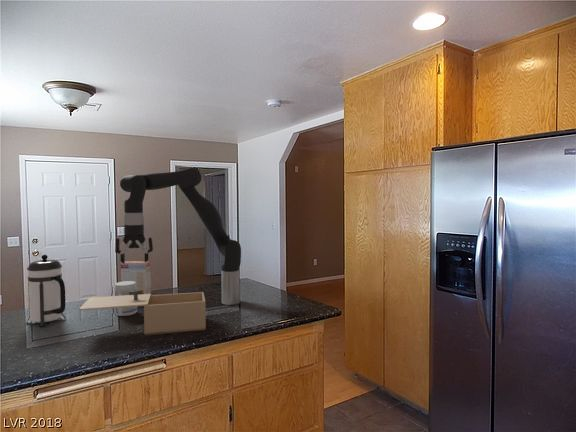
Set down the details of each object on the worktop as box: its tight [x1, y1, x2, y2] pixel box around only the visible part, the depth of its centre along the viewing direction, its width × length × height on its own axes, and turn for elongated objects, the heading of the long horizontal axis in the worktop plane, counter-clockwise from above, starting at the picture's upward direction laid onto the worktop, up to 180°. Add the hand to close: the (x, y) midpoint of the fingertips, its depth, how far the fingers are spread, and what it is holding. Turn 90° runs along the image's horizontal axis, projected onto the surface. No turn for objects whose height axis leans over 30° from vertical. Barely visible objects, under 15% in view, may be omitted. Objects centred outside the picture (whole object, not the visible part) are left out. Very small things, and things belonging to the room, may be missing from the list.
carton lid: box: [78, 291, 152, 312], centre depth 152 cm, size 24×16×4 cm
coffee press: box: [25, 254, 67, 328], centre depth 163 cm, size 17×16×30 cm
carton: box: [143, 291, 207, 336], centre depth 159 cm, size 24×16×12 cm, turn 106°
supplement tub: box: [114, 281, 138, 317], centre depth 175 cm, size 10×10×15 cm
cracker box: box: [120, 260, 152, 295], centre depth 198 cm, size 14×6×21 cm, turn 84°
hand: (134, 262), depth 153 cm, fingers open, 8 cm apart
